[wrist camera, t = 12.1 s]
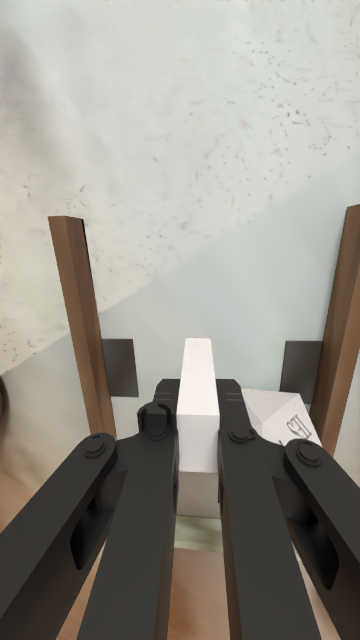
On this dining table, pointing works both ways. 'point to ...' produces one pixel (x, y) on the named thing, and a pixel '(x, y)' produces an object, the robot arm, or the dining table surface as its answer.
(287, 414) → the die
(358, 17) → the dining table surface
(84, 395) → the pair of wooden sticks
